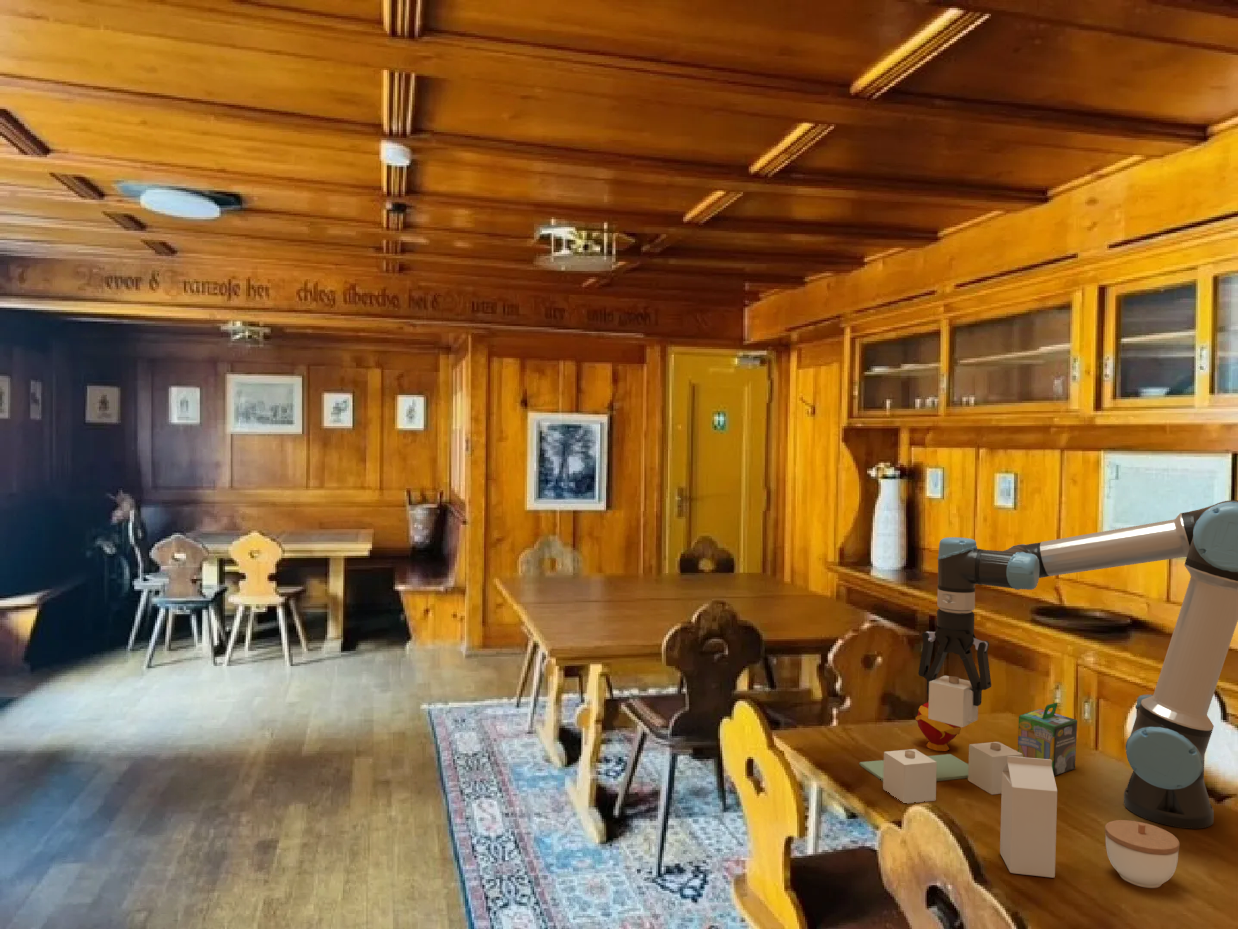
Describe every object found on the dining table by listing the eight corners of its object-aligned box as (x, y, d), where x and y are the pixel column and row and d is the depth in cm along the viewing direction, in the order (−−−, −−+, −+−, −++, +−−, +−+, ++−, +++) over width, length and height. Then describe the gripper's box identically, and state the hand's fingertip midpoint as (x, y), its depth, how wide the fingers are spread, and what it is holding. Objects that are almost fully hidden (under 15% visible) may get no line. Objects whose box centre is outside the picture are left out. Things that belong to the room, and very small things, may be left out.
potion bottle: (906, 741, 206) (908, 681, 206) (941, 738, 210) (943, 678, 209) (934, 757, 196) (936, 693, 196) (970, 753, 200) (972, 690, 199)
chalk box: (1038, 756, 198) (1040, 694, 198) (1077, 769, 190) (1078, 705, 190) (1015, 763, 193) (1017, 700, 193) (1053, 777, 185) (1055, 711, 185)
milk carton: (1055, 879, 141) (1058, 767, 141) (1009, 874, 143) (1012, 763, 142) (1042, 858, 148) (1045, 752, 148) (999, 854, 150) (1002, 749, 149)
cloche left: (935, 800, 172) (936, 757, 172) (903, 804, 170) (904, 760, 170) (914, 786, 179) (915, 744, 179) (883, 789, 177) (884, 747, 177)
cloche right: (1021, 791, 177) (1022, 749, 177) (991, 794, 176) (992, 752, 175) (997, 777, 185) (998, 737, 184) (968, 780, 183) (969, 739, 183)
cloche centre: (977, 719, 180) (978, 678, 180) (962, 727, 175) (963, 684, 175) (943, 711, 185) (944, 671, 185) (928, 718, 180) (929, 677, 180)
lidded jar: (1149, 863, 147) (1151, 810, 147) (1193, 896, 137) (1195, 839, 136) (1090, 863, 147) (1091, 810, 147) (1129, 896, 136) (1131, 839, 136)
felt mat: (984, 776, 185) (984, 773, 185) (889, 785, 179) (889, 783, 179) (950, 756, 197) (950, 754, 197) (859, 765, 191) (859, 762, 191)
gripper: (902, 605, 184) (900, 707, 185) (997, 619, 170) (994, 731, 170) (918, 601, 190) (915, 701, 190) (1011, 614, 175) (1008, 723, 175)
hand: (953, 715), depth 180 cm, fingers closed on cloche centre, 7 cm apart
